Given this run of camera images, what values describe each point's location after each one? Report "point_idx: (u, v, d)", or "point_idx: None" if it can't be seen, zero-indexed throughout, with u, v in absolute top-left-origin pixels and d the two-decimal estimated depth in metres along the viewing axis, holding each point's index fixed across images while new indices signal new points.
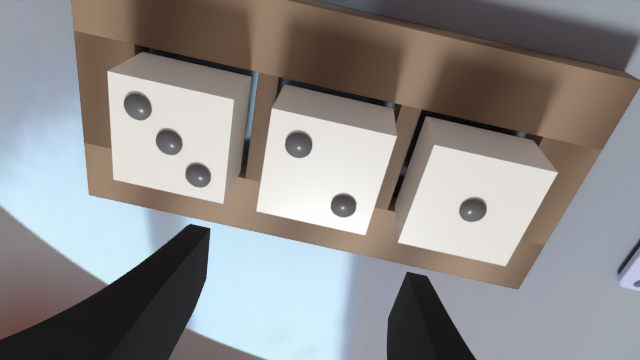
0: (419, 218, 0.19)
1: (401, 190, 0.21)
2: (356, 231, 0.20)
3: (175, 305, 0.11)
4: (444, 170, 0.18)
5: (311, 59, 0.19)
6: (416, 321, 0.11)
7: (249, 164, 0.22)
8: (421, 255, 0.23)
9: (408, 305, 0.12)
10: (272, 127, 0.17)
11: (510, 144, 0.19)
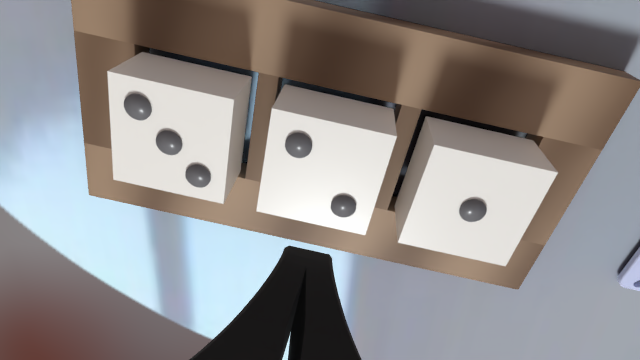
0: (419, 218, 0.19)
1: (401, 190, 0.21)
2: (356, 231, 0.20)
3: (288, 329, 0.11)
4: (444, 170, 0.18)
5: (311, 59, 0.19)
6: (303, 296, 0.11)
7: (249, 164, 0.22)
8: (421, 255, 0.23)
9: (303, 282, 0.12)
10: (272, 127, 0.17)
11: (510, 144, 0.19)
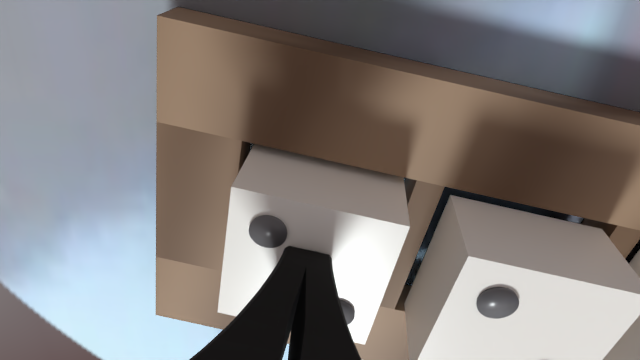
0: None
1: None
2: None
3: (288, 329, 0.11)
4: None
5: (498, 166, 0.13)
6: (303, 297, 0.11)
7: None
8: None
9: (303, 282, 0.12)
10: (462, 279, 0.12)
11: None
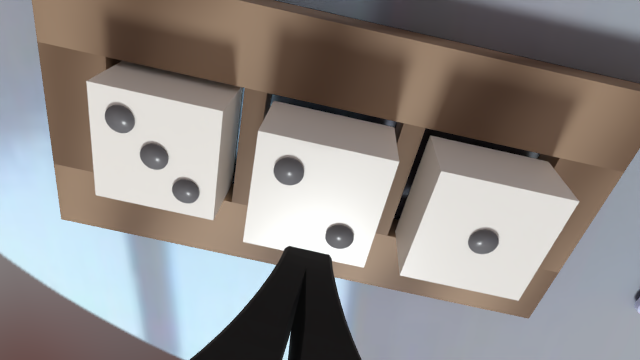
0: (423, 250, 0.17)
1: (403, 215, 0.19)
2: (354, 263, 0.18)
3: (288, 329, 0.11)
4: (452, 198, 0.16)
5: (303, 74, 0.17)
6: (303, 296, 0.11)
7: (236, 187, 0.20)
8: (424, 283, 0.22)
9: (303, 282, 0.12)
10: (259, 151, 0.15)
11: (524, 167, 0.17)
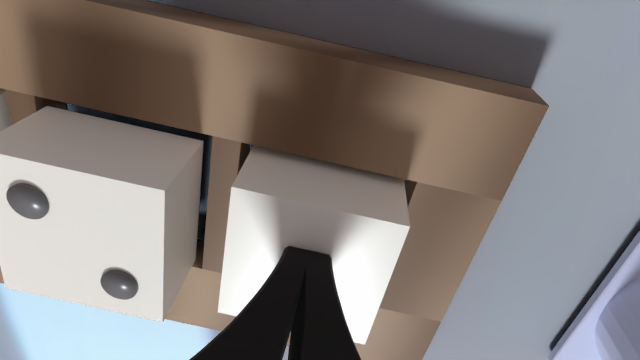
0: (237, 282, 0.14)
1: None
2: (149, 317, 0.14)
3: (288, 329, 0.11)
4: (254, 221, 0.12)
5: (72, 71, 0.13)
6: (303, 296, 0.11)
7: None
8: None
9: (303, 282, 0.12)
10: None
11: (362, 180, 0.14)
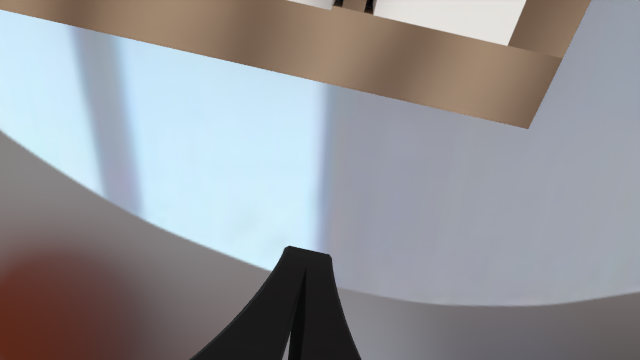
0: None
1: None
2: (319, 4, 0.15)
3: (288, 329, 0.11)
4: None
5: None
6: (303, 296, 0.11)
7: None
8: (408, 82, 0.19)
9: (303, 282, 0.12)
10: None
11: None
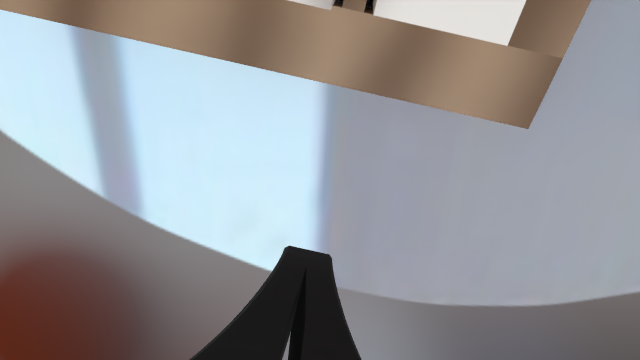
0: None
1: None
2: (319, 4, 0.15)
3: (288, 329, 0.11)
4: None
5: None
6: (303, 296, 0.11)
7: None
8: (408, 82, 0.19)
9: (303, 282, 0.12)
10: None
11: None
